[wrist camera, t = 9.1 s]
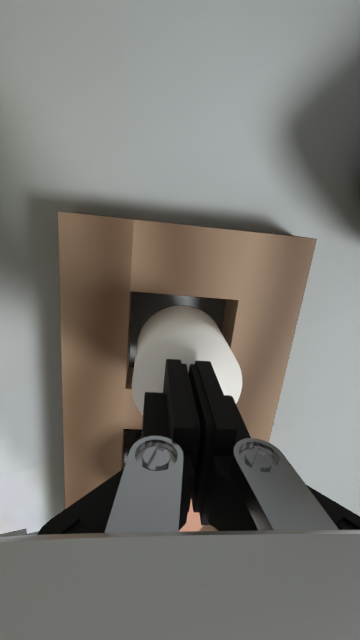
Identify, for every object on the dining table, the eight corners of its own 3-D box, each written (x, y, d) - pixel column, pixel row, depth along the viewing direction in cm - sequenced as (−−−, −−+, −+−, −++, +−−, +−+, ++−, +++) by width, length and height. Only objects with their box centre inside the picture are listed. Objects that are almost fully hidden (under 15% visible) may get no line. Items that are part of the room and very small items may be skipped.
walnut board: (294, 235, 17) (316, 238, 15) (221, 576, 26) (228, 612, 23) (72, 212, 16) (57, 211, 13) (76, 578, 24) (67, 617, 22)
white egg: (227, 308, 15) (251, 339, 12) (215, 385, 17) (232, 434, 13) (140, 302, 15) (134, 331, 11) (135, 381, 16) (128, 431, 12)
